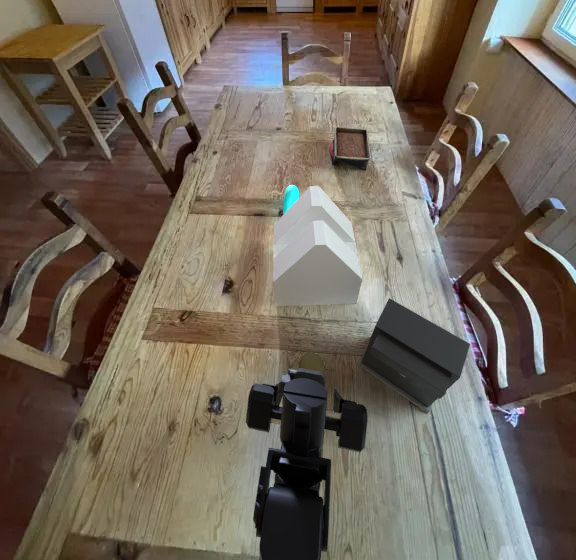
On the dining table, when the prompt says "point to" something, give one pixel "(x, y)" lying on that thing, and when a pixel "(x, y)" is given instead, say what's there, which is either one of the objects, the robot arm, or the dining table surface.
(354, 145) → the square planter box
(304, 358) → the cork
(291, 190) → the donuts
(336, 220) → the white house shaped block
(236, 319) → the dining table surface
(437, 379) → the coffee maker
